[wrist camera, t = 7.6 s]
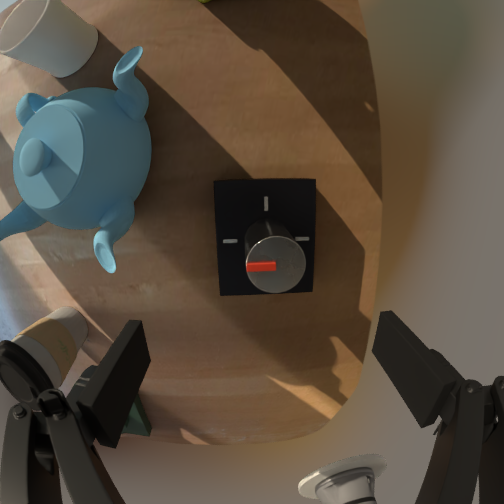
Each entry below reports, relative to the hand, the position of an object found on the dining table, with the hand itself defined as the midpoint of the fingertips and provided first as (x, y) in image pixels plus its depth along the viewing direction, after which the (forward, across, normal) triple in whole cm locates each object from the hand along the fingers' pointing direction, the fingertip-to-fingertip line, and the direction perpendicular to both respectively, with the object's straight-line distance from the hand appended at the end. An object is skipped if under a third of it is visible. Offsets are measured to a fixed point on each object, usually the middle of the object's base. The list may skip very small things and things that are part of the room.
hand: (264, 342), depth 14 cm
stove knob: (+15, +1, +2) cm, 15 cm away
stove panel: (+18, +1, +2) cm, 18 cm away
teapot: (+18, -18, +11) cm, 27 cm away
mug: (+18, -24, +30) cm, 42 cm away
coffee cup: (+18, -26, -10) cm, 34 cm away
